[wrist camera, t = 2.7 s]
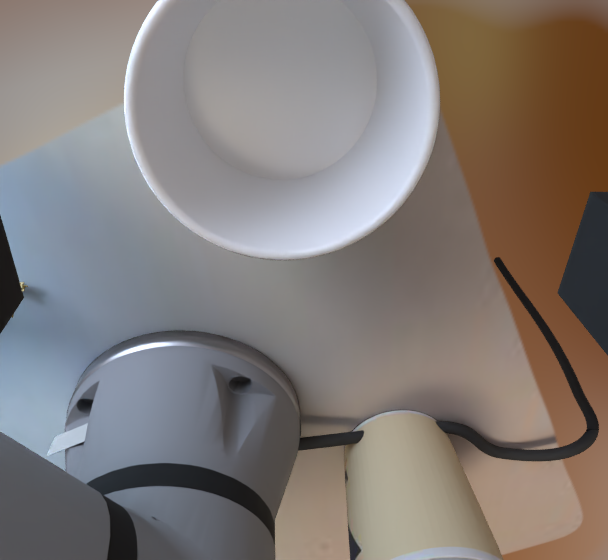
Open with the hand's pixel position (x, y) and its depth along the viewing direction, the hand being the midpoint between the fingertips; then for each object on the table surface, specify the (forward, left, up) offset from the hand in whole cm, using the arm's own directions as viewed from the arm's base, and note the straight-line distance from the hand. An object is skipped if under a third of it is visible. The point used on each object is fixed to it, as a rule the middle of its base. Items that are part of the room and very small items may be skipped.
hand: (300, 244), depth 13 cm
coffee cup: (-4, +27, -17) cm, 32 cm away
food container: (0, 0, -17) cm, 17 cm away
